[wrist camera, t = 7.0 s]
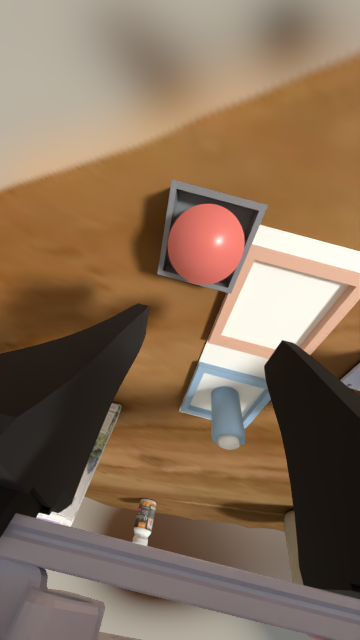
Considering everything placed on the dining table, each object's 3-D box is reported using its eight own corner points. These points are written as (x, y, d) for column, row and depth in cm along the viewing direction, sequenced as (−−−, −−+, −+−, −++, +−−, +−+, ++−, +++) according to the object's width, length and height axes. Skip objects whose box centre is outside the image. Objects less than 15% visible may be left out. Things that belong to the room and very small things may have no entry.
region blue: (279, 382, 24) (281, 387, 23) (244, 423, 30) (245, 428, 29) (199, 361, 24) (198, 365, 23) (180, 406, 30) (180, 411, 29)
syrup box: (89, 409, 35) (25, 518, 23) (92, 392, 31) (19, 510, 19) (117, 418, 35) (69, 530, 23) (123, 403, 32) (71, 524, 20)
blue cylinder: (240, 387, 25) (249, 438, 20) (236, 404, 27) (243, 454, 22) (212, 385, 26) (212, 433, 20) (210, 401, 28) (210, 450, 22)
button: (251, 214, 12) (258, 216, 10) (225, 282, 15) (227, 292, 13) (180, 195, 12) (175, 193, 10) (167, 267, 15) (162, 274, 13)
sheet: (389, 259, 15) (390, 259, 15) (243, 427, 31) (244, 428, 30) (254, 223, 15) (254, 223, 15) (179, 410, 31) (179, 411, 30)
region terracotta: (370, 275, 15) (377, 278, 15) (296, 362, 21) (299, 367, 21) (247, 242, 15) (248, 244, 15) (208, 338, 21) (208, 342, 21)
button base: (257, 205, 14) (268, 205, 11) (227, 281, 17) (230, 293, 15) (178, 184, 14) (171, 179, 11) (164, 264, 17) (157, 274, 15)
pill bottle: (149, 497, 61) (139, 543, 53) (159, 503, 63) (152, 548, 55) (137, 498, 64) (126, 541, 55) (148, 503, 66) (139, 546, 57)
